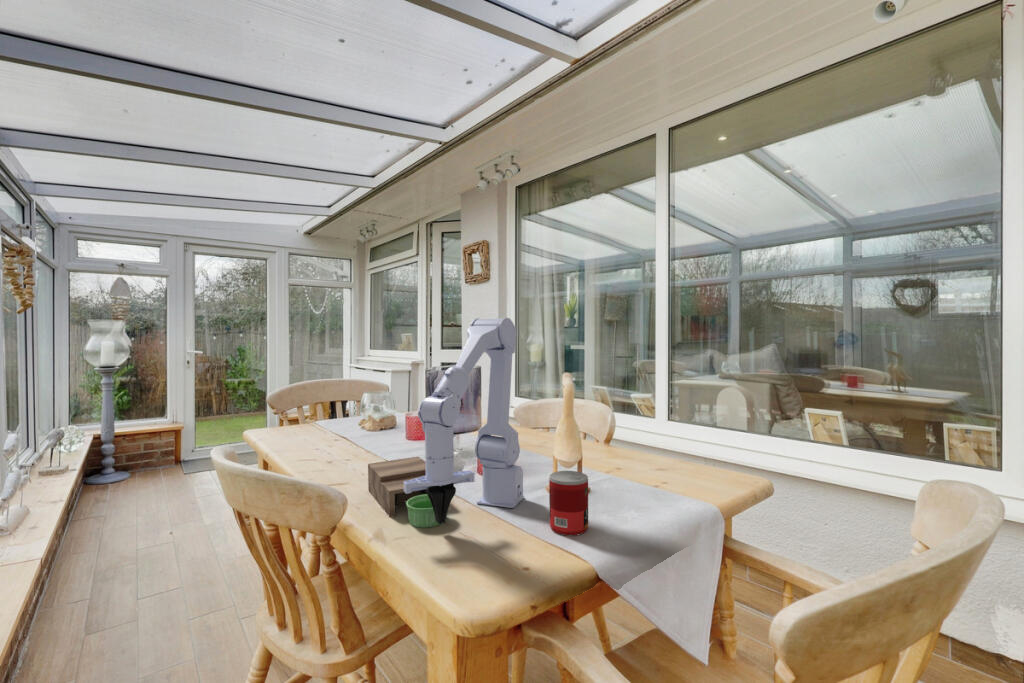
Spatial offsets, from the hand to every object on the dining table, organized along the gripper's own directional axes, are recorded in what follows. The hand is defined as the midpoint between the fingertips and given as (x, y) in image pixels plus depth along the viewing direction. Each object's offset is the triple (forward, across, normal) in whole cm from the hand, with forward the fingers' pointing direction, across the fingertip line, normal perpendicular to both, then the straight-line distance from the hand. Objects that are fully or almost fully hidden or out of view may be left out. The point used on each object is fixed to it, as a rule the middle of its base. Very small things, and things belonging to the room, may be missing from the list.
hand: (440, 521), depth 97 cm
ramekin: (+3, 0, -8) cm, 8 cm away
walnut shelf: (+2, +1, -24) cm, 24 cm away
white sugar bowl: (+3, -16, -34) cm, 38 cm away
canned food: (+3, -24, +11) cm, 27 cm away
